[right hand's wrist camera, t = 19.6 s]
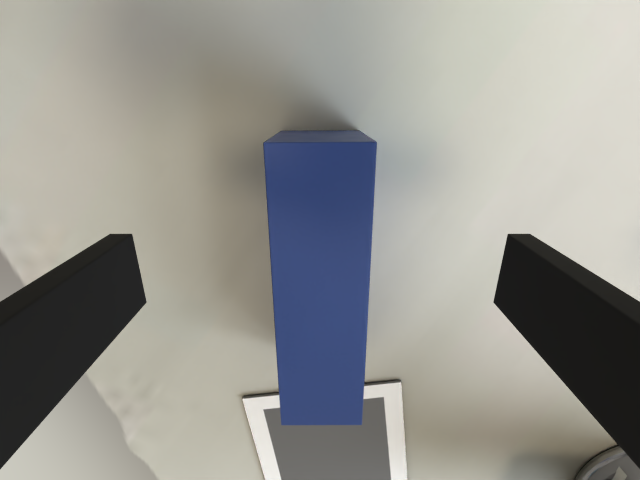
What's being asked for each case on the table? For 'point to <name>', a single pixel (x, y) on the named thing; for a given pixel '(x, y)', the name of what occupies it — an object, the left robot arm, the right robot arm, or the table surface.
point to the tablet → (332, 440)
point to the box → (320, 270)
